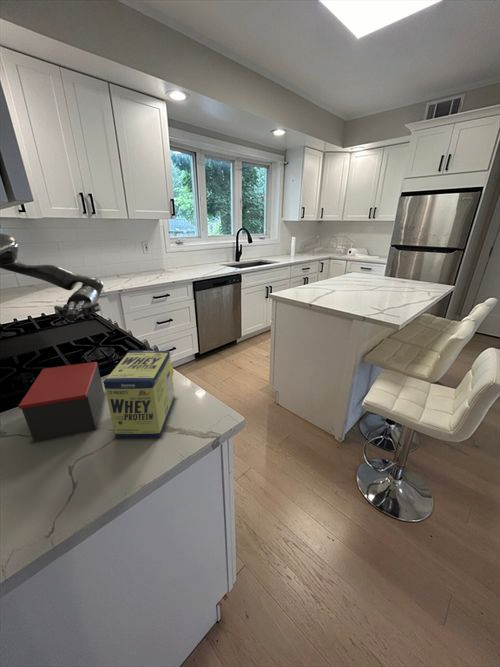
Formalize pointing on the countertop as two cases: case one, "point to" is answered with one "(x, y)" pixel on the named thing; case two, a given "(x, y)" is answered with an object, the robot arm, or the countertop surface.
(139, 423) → the protein box
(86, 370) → the lid
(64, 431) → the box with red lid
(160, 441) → the countertop surface
